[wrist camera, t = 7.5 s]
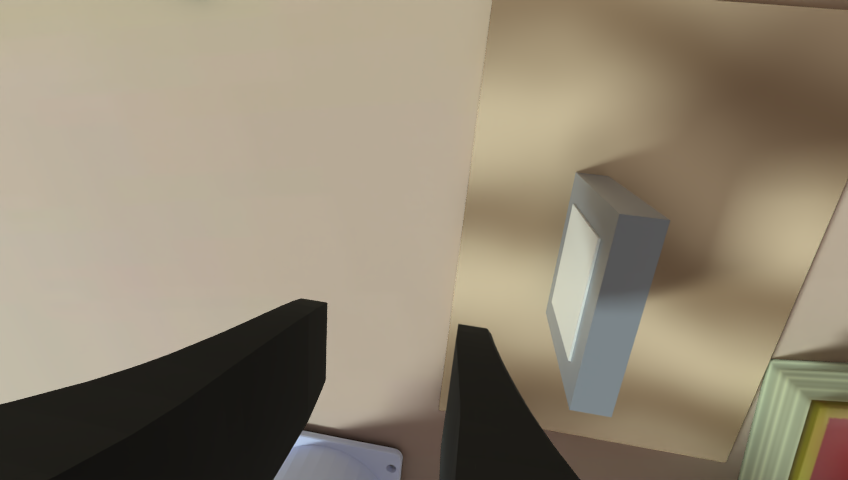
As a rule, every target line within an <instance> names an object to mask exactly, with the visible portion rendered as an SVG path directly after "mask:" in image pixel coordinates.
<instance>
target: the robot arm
mask: <svg viewBox="0 0 848 480" xmlns="http://www.w3.org/2000/svg"><path fill="white" fill-rule="evenodd" d="M326 338H327V303H326V302H320V301H314V300H307V299H298V300H295V301H292V302H290V303H287V304H285V305H282V306H280V307H278V308H276V309H273V310H271V311H269V312H267V313H264V314H262V315H260V316H258V317H256V318H253V319H251V320H249V321H247V322H245V323H242V324H240V325H238V326H236V327H233V328H231V329H229V330H227V331H225V332H222V333H220V334H218V335H215V336H213V337H210V338H208V339H205V340H203V341H200V342H198V343H196V344H193V345H191V346H188V347H186V348H183V349H181V350H178V351H176V352H173V353H171V354H169V355H166V356H163V357H160V358H158V359H155V360H152V361H149V362H147V363H144V364H141V365H138V366H135V367H132V368H129V369H126V370H123V371H120V372H117V373H113V374H110V375H107V376H104V377H101V378H98V379H94V380H91V381H88V382H84V383H81V384H77V385H73V386H69V387H65V388H62V389H58V390H54V391H50V392H47V393H43V394H39V395H35V396H32V397H28V398H24V399H20V400H16V401H13V402H9V403H4V404H0V480H401V470H402V460H403V456H402V453H401V452H400V451H399V450H397V449H395V448H390V447H385V446H380V445H375V444H370V443H364V442H359V441H354V440H349V439H344V438H339V437H334V436H329V435H324V434H318V433H313V432H308V431H303V429H304V427H305V426H306V424H307V422H308V420H309V418H310V416H311V413H312V411H313V409H314V407H315V404H316V402H317V400H318V397H319V395H320V393H321V390H322V388H323V385H324V383H325V381H326ZM390 465H393V466H390ZM439 480H580V479H579V478H578V476H577V475H576V474H575V473H574V471H573V470H572V469H571V467H570V466H569V465H568V464H567V462H566V461H565V460H564V458H563V457H562V456H561V455H560V453H559V452H558V451H557V449H556V448H555V446H554V445H553V444H552V442H551V441H550V439H549V438H548V437H547V435H546V434H545V432H544V431H543V429H542V428H541V426H540V425H539V423H538V422H537V420H536V419H535V417H534V416H533V414H532V413H531V411H530V409H529V408H528V406H527V405H526V403H525V401H524V400H523V398H522V396H521V394H520V393H519V391H518V389H517V387H516V385H515V384H514V382H513V380H512V378H511V377H510V375H509V373H508V371H507V369H506V367H505V365H504V363H503V361H502V359H501V357H500V354H499V352H498V350H497V348H496V345H495V343H494V340H493V337H492V334H491V333H490V332H489V330H488V329H487V328H482V327H475V326H469V325H463V324H458V329H457V335H456V342H455V349H454V357H453V364H452V371H451V378H450V386H449V393H448V400H447V407H446V414H445V422H444V429H443V436H442V443H441V457H440V479H439Z"/></svg>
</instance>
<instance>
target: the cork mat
mask: <svg viewBox="0 0 848 480" xmlns="http://www.w3.org/2000/svg"><path fill="white" fill-rule="evenodd" d="M576 172H579V173H588V174H596V175H605V176H609V177H611V178H612V179H613V180H615V181H616V182H618V183H619V184H620V185H622V186H623V187H625V188H626V189H627V190H629V191H630V192H632V193H633V194H634V195H636V196H637V197H639V198H640V199H641V200H643V201H644V202H646V203H647V204H648V205H650V206H651V207H653V208H654V209H655V210H657V211H658V212H660V213H661V214H662V215H664V216H665V217H667V218H668V219H669V220H670V223H669V227H668V230H667V233H666V237H665V240H664V243H663V247H662V250H661V253H660V257H659V260H658V264H657V267H656V270H655V274H654V277H653V280H652V284H651V287H650V290H649V294H648V297H647V300H646V304H645V307H644V310H643V314H642V317H641V320H640V324H639V327H638V330H637V334H636V337H635V340H634V344H633V347H632V351H631V354H630V357H629V361H628V364H627V367H626V371H625V374H624V377H623V381H622V384H621V387H620V391H619V394H618V397H617V401H616V404H615V407H614V411H613V414H612V417H607V416H601V415H595V414H590V413H584V412H579V411H573V410H569V407H568V402H567V398H566V394H565V390H564V386H563V382H562V378H561V374H560V369H559V365H558V361H557V357H556V353H555V349H554V345H553V341H552V336H551V332H550V328H549V324H548V320H547V316H546V309H547V304H548V299H549V295H550V290H551V285H552V281H553V276H554V271H555V267H556V262H557V257H558V252H559V248H560V243H561V238H562V234H563V229H564V224H565V220H566V215H567V210H568V206H569V201H570V196H571V192H572V187H573V182H574V178H575V173H576ZM847 180H848V10H839V9H826V8H812V7H799V6H785V5H771V4H758V3H744V2H731V1H717V0H492V7H491V15H490V22H489V30H488V37H487V45H486V53H485V60H484V68H483V75H482V83H481V91H480V98H479V106H478V113H477V121H476V129H475V136H474V144H473V151H472V159H471V167H470V174H469V182H468V189H467V197H466V205H465V212H464V220H463V227H462V235H461V243H460V250H459V258H458V265H457V273H456V281H455V288H454V296H453V303H452V311H451V319H450V326H449V334H448V341H447V349H446V357H445V364H444V372H443V379H442V387H441V395H440V402H439V410H440V411H446V407H447V400H448V393H449V386H450V378H451V371H452V364H453V357H454V349H455V342H456V335H457V329H458V324H463V325H469V326H475V327H482V328H487V329H488V330H489V332H490V333H491V334H492V337H493V340H494V343H495V345H496V348H497V350H498V352H499V354H500V357H501V359H502V361H503V363H504V365H505V367H506V369H507V371H508V373H509V375H510V377H511V378H512V380H513V382H514V384H515V385H516V387H517V389H518V391H519V393H520V394H521V396H522V398H523V400H524V401H525V403H526V405H527V406H528V408H529V409H530V411H531V413H532V414H533V416H534V417H535V419H536V420H537V422H538V423H539V425H540V426H541V428H542V429H544V430H549V431H555V432H560V433H566V434H571V435H577V436H582V437H587V438H593V439H598V440H604V441H609V442H615V443H620V444H626V445H631V446H636V447H642V448H647V449H653V450H658V451H664V452H669V453H675V454H680V455H685V456H691V457H696V458H702V459H707V460H713V461H718V462H724V463H726V461H727V459H728V457H729V454H730V452H731V450H732V447H733V445H734V443H735V440H736V438H737V436H738V433H739V431H740V429H741V426H742V424H743V422H744V419H745V417H746V415H747V412H748V410H749V408H750V405H751V403H752V401H753V398H754V396H755V394H756V391H757V389H758V387H759V384H760V382H761V380H762V377H763V375H764V373H765V370H766V368H767V366H768V363H769V361H770V359H771V356H772V354H773V352H774V349H775V347H776V345H777V342H778V340H779V338H780V335H781V333H782V331H783V328H784V326H785V324H786V322H787V319H788V317H789V315H790V312H791V310H792V308H793V305H794V303H795V301H796V298H797V296H798V294H799V291H800V289H801V287H802V284H803V282H804V280H805V277H806V275H807V273H808V270H809V268H810V266H811V263H812V261H813V259H814V256H815V254H816V252H817V249H818V247H819V245H820V242H821V240H822V238H823V235H824V233H825V231H826V228H827V226H828V224H829V221H830V219H831V217H832V214H833V212H834V210H835V207H836V205H837V203H838V200H839V198H840V196H841V193H842V191H843V189H844V186H845V184H846V182H847Z"/></svg>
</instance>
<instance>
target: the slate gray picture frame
mask: <svg viewBox="0 0 848 480" xmlns="http://www.w3.org/2000/svg"><path fill="white" fill-rule="evenodd" d="M669 223H670V220H669V219H668V218H667V217H665V216H664V215H662V214H661V213H660V212H658V211H657V210H655V209H654V208H653V207H651V206H650V205H648V204H647V203H646V202H644V201H643V200H641V199H640V198H639V197H637V196H636V195H634V194H633V193H632V192H630V191H629V190H627V189H626V188H625V187H623V186H622V185H620V184H619V183H618V182H616V181H615V180H613V179H612V178H611V177H609V176H605V175H596V174H588V173H579V172H576V173H575V178H574V182H573V187H572V192H571V196H570V201H569V206H568V210H567V215H566V220H565V224H564V229H563V234H562V238H561V243H560V248H559V252H558V257H557V262H556V267H555V271H554V276H553V281H552V285H551V290H550V295H549V299H548V304H547V309H546V316H547V320H548V324H549V328H550V332H551V336H552V341H553V345H554V349H555V353H556V357H557V361H558V365H559V369H560V374H561V378H562V382H563V386H564V390H565V394H566V398H567V402H568V407H569V410H573V411H579V412H584V413H590V414H595V415H601V416H607V417H612V414H613V411H614V407H615V404H616V401H617V397H618V394H619V391H620V387H621V384H622V381H623V377H624V374H625V371H626V367H627V364H628V361H629V357H630V354H631V351H632V347H633V344H634V340H635V337H636V334H637V330H638V327H639V324H640V320H641V317H642V314H643V310H644V307H645V304H646V300H647V297H648V294H649V290H650V287H651V284H652V280H653V277H654V274H655V270H656V267H657V264H658V260H659V257H660V253H661V250H662V247H663V243H664V240H665V237H666V233H667V230H668V227H669Z"/></svg>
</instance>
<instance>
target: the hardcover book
mask: <svg viewBox="0 0 848 480" xmlns="http://www.w3.org/2000/svg"><path fill="white" fill-rule="evenodd" d="M738 480H848V363H841V362H821V361H801V360H782V359H770V361H769V363H768V366H767V368H766V370H765V374H764V378H763V382H762V386H761V390H760V394H759V398H758V402H757V406H756V410H755V414H754V418H753V422H752V426H751V429H750V433H749V437H748V441H747V445H746V449H745V453H744V457H743V461H742V465H741V469H740V473H739V477H738Z"/></svg>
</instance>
